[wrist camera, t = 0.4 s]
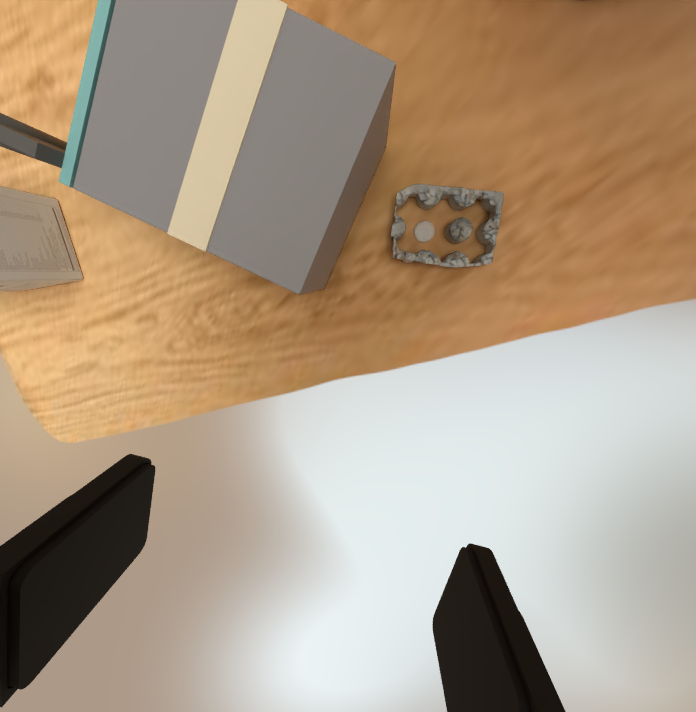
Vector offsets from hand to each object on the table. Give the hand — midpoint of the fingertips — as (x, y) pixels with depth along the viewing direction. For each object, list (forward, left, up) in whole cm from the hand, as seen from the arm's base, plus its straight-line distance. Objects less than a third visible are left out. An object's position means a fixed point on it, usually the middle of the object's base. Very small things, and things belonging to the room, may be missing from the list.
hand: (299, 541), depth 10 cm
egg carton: (-15, +3, -31) cm, 35 cm away
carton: (-12, -15, -31) cm, 36 cm away
